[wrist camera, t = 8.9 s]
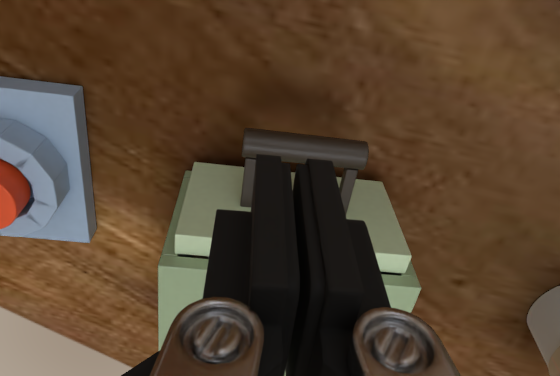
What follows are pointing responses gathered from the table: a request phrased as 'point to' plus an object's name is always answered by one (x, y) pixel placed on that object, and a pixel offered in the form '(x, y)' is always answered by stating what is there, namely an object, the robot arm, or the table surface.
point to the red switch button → (12, 193)
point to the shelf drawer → (292, 148)
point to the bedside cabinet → (192, 272)
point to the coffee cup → (547, 328)
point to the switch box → (48, 158)
